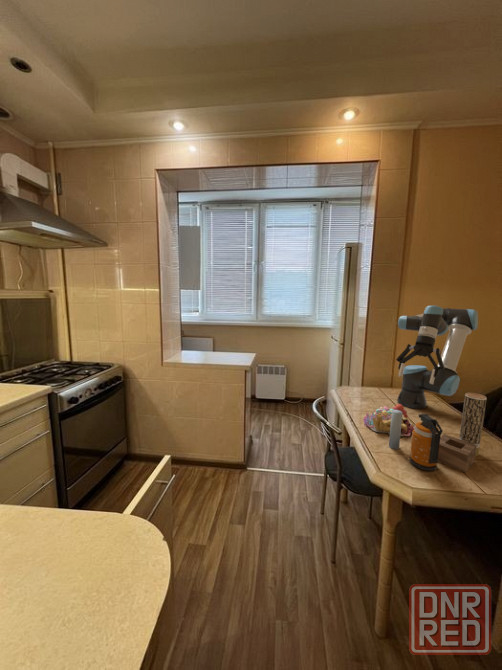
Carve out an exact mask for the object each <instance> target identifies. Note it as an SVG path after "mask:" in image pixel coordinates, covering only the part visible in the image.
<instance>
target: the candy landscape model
mask: <svg viewBox="0 0 502 670" xmlns="http://www.w3.org/2000/svg"><path fill="white" fill-rule="evenodd" d="M392 410H399V411H401V412H402V424H401V434H400V437H404V436H405V437H410V436H411V435H412V432H413V430H414V429H415V426H413V423H412V422H411V421H410V420H409V418H408V417H409V416H408V414H407V413H408V412H407V410H405V406H403V405H401V404H399V403H397V404H396V405H395V406H394V407H393V408H390V407H388V406H385V405H384V406H380V407H379V408H377V409H375V410H374V412H372V413H371V414H370V413H369V412H368V411H367V412H365V416H364V418H363V425H364V426H366V427H368V428H370V430H372V431H374V432H375V433H382V434H383V433H386V434H388V435H390V426H391V415H392Z"/></svg>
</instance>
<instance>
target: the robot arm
mask: <svg viewBox="0 0 502 670" xmlns="http://www.w3.org/2000/svg"><path fill="white" fill-rule="evenodd" d="M478 315H479V314H478V311H477V310H476V309H469V308H449V307H444V308H443V307H441V306H439V305H427V306H426V307H425V308H424V311H423V313H421V314H417V315H401V316H400V317H398V320H397V326H398V329H400V330H404V331H414V332H418V333H417V337H416V340H415V344H414V345H411V344H410V343H408V344H407V346H406V348H405V349H404V350H403V351H402V352H401V353H400V354H399V355H398V357H397V358H396V359H395V360H396V361H397V362H398V363H399V364H398V368H397V369H398V370H399V371H398V373H397V375H398V377H399V378H402V382H401V390H400V392H399V394H398V396H397V401H396V402H397V404H401V405H403V407H406V408H409V409H417V410H418V409H420V410H422V409H426V408H427V403H428V401H427V399H426V395H425V391H428V392H431V393H434V394H439V395H443V396H447V397H448V396H449V397H450V396H453V395H455V393H456V392H457V390H458V388H459V386H460V381H461V377H460V376H458V372H457V371H456V369H457V367H458V364H459V361H460V359H461V355H462V352H463V349H464V345H465V343H466V341H467V336H468V335H471V333H472V332H473V331H477V329H478V326H479V316H478ZM448 331H449V332H448ZM447 332H448V334H447ZM445 334H447V337H446V340H445V342H444V346H443V349H442V350H441V348H439V347H437V348H435V342H436V339H437V336H443V335H445ZM411 350H413V351H411ZM410 351H411V352H410ZM409 352H410V353H409ZM433 352H434V354H435V355H436V359H437V362H438V363H437V362H436V361H435V359H434V358H433V356H432V353H433ZM417 356H418V357H423V358H424V357H425V358H428V359H429V361H430V363H431V364H432V366H433V368H432V370H431V369H428V367H427V366H426V365H420V364H419V365H417V364H416V365H415V364H411V365H406V364H405V363H407V362H408V361H410V360H411V359H413V358H414V357H417Z"/></svg>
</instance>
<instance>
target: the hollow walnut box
mask: <svg viewBox="0 0 502 670" xmlns="http://www.w3.org/2000/svg"><path fill="white" fill-rule="evenodd" d="M476 446H477V445H474V444H472V443H469V442H466V441H463V440H460V439H459V438H457V437H454V436H451V435H449V434H445V433H444V434H441V436H440V445H439V453H438V463H442V464H444V465H446V466H448V467H451V468H453V469H456V470H458V471H460V472H463V473H467V471H468V470H469V469H470V468H471V466H472V465H473V464H474V463H475V460H476V459H475V458H476V457H475V453H476Z"/></svg>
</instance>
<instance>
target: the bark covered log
mask: <svg viewBox="0 0 502 670" xmlns="http://www.w3.org/2000/svg"><path fill="white" fill-rule="evenodd" d="M486 404H487V396H486V395H485V394H480V393H478V392H477V393H476V392H465V394H464V400H463V409H462V416H461V423H460V431H459V436H458V437H459V438H458V439H460V440H463V441H466V442H469V443H472V444H474V445H477V446H476V453H475V458H476V457H478V456H479V453H480V447H481V440H482V432H483V428H484V427H483V426H484V420H485V412H486Z"/></svg>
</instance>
